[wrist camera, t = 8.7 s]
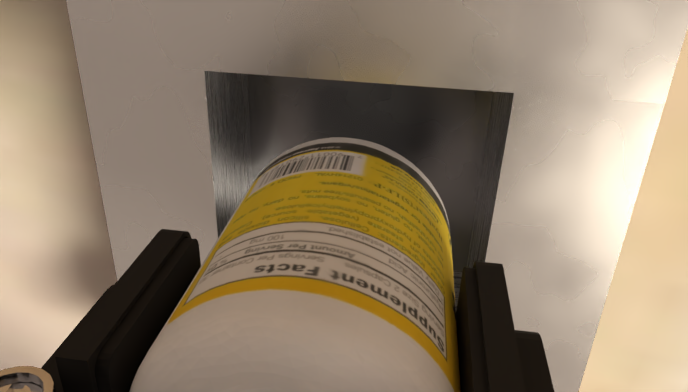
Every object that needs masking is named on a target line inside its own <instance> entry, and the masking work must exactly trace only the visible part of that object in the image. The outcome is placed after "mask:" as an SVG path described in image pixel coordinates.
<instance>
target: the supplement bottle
mask: <svg viewBox="0 0 688 392" xmlns="http://www.w3.org/2000/svg"><path fill="white" fill-rule="evenodd" d="M130 392H461V384H460V370H459V355H458V339H457V323H456V309H455V291H454V276H453V260H452V245H451V237H450V228H449V222H448V217H447V214H446V210H445V207H444V205H443V202H442V200H441V198H440V196H439V194H438V193H437V191H436V189H435V188H434V186H433V185H432V183H431V182H430V181H429V179H428V178H427V177H426V176H425V175H424V174H423V173H422V172H421V171H420V170H419V169H418V168H417V167H416V166H415V165H414V164H413V163H411V162H410V161H409V160H407V159H406V158H404V157H403V156H401V155H400V154H398V153H396V152H394V151H392V150H390V149H389V148H386V147H384V146H382V145H379V144H376V143H373V142H370V141H366V140H361V139H354V138H344V137H331V138H323V139H317V140H313V141H309V142H306V143H303V144H300V145H297V146H295V147H293V148H291V149H289V150H287V151H285V152H283V153H282V154H280V155H279V156H278V157H276V158H275V159H273V160H272V161H271V162H270V163H269V164H268V165H267V166H266V167H265V168H264V169H263V170H262V171H261V172H260V174H259V175H258V176H257V177H256V179H255V180H254V182H253V183H252V184H251V186H250V188H249V189H248V191H247V192H246V194H245V195H244V197H243V199H242V200H241V202H240V203H239V205H238V207H237V208H236V210H235V212H234V213H233V215H232V217H231V218H230V220H229V222H228V223H227V225H226V227H225V228H224V230H223V231H222V233H221V235H220V236H219V238H218V239H217V241H216V243H215V244H214V246H213V247H212V249H211V251H210V252H209V254H208V256H207V257H206V259H205V261H204V262H203V264H202V266H201V267H200V269H199V270H198V272H197V274H196V275H195V277H194V279H193V280H192V282H191V283H190V285H189V287H188V288H187V290H186V292H185V293H184V295H183V296H182V298H181V300H180V301H179V303H178V305H177V306H176V308H175V309H174V311H173V313H172V314H171V316H170V317H169V319H168V321H167V322H166V324H165V325H164V327H163V328H162V330H161V332H160V333H159V335H158V336H157V338H156V340H155V341H154V343H153V344H152V346H151V347H150V349H149V351H148V352H147V354H146V356H145V358H144V359H143V361H142V363H141V365H140V366H139V368H138V371H137V373H136V375H135V377H134V380H133V382H132V385H131V388H130Z"/></svg>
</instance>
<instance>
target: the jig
mask: <svg viewBox="0 0 688 392" xmlns="http://www.w3.org/2000/svg"><path fill="white" fill-rule="evenodd" d="M66 3H67V9H68V14H69V19H70V25H71V30H72V36H73V41H74V47H75V52H76V58H77V63H78V69H79V74H80V80H81V85H82V91H83V96H84V101H85V107H86V112H87V118H88V123H89V129H90V134H91V140H92V145H93V151H94V156H95V162H96V167H97V173H98V178H99V183H100V189H101V194H102V200H103V205H104V211H105V216H106V222H107V227H108V233H109V238H110V244H111V249H112V255H113V260H114V265H115V271H116V276H117V281H118V280H119V279H120V278H121V276H122V275H123V274H124V273H125V271H126V270H127V269H128V268H129V267H130V265H131V264H132V263H133V262H134V261H135V259H136V258H137V257H138V256H139V255H140V253H141V252H142V251H143V250H144V249H145V247H146V246H147V245H148V244H149V243H150V241H151V240H152V239H153V238H154V237H155V235H156V234H157V233H158V232H159V231H160V230H161V229H169V230H179V231H188V232H189V233H190V235H191V238H192V239H197V240H198V243H199V251H200V261H201V266H202V264H203V262H204V261H205V259H206V257H207V256H208V254H209V252H210V251H211V249H212V247H213V246H214V244H215V243H216V241H217V239H218V238H219V236H220V235H221V233H222V231H223V230H224V228H225V227H226V225H227V223H228V222H229V220H230V218H231V217H232V215H233V213H234V212H235V210H236V208H237V207H238V205H239V203H240V202H241V200H242V199H243V197H244V195H245V194H246V192H247V191H248V189H249V188H250V186H251V184H252V183H253V182H254V180H255V179H256V177H257V176H258V175H259V174H260V172H261V171H262V170H263V169H264V168H265V167H266V166H267V165H268V164H269V163H270V162H271V161H272V160H273V159H275V158H276V157H278V156H279V155H280V154H282V153H283V152H285V151H287V150H289V149H291V148H293V147H295V146H297V145H300V144H303V143H306V142H309V141H313V140H317V139H323V138H331V137H344V138H354V139H361V140H366V141H370V142H373V143H376V144H379V145H382V146H384V147H386V148H389V149H390V150H392V151H394V152H396V153H398V154H400V155H401V156H403V157H404V158H406V159H407V160H409V161H410V162H411V163H413V164H414V165H415V166H416V167H417V168H418V169H419V170H420V171H421V172H422V173H423V174H424V175H425V176H426V177H427V178H428V179H429V181H430V182H431V183H432V185H433V186H434V188H435V189H436V191H437V193H438V194H439V196H440V198H441V200H442V202H443V205H444V207H445V210H446V214H447V217H448V222H449V228H450V237H451V245H452V260H453V276H454V291H455V309H456V310H457V304H458V297H459V291H460V284H461V278H462V271H463V268H464V267H470V268H473V264H474V262H475V261H480V262H489V263H499V264H502V265H503V268H504V274H505V279H506V285H507V290H508V296H509V301H510V307H511V312H512V318H513V323H514V329H515V330H520V331H529V332H538V333H539V334H540V336H541V339H542V342H543V346H544V350H545V354H546V359H547V363H548V367H549V371H550V375H551V379H552V384H553V388H554V392H579V388H580V384H581V381H582V378H583V374H584V371H585V368H586V364H587V361H588V358H589V354H590V351H591V348H592V344H593V341H594V338H595V334H596V331H597V328H598V324H599V321H600V318H601V314H602V311H603V308H604V304H605V301H606V298H607V294H608V291H609V288H610V284H611V281H612V278H613V274H614V271H615V268H616V264H617V261H618V258H619V254H620V251H621V248H622V244H623V241H624V238H625V234H626V231H627V228H628V224H629V221H630V218H631V214H632V211H633V208H634V204H635V201H636V198H637V194H638V191H639V188H640V184H641V181H642V178H643V174H644V171H645V168H646V164H647V161H648V158H649V154H650V151H651V148H652V144H653V141H654V138H655V134H656V131H657V128H658V124H659V121H660V118H661V114H662V111H663V108H664V104H665V101H666V98H667V94H668V91H669V88H670V84H671V81H672V78H673V74H674V71H675V68H676V64H677V61H678V58H679V54H680V51H681V48H682V44H683V41H684V38H685V34H686V31H687V28H688V0H66Z"/></svg>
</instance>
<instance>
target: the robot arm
mask: <svg viewBox="0 0 688 392" xmlns="http://www.w3.org/2000/svg"><path fill="white" fill-rule="evenodd" d="M200 267H201V261H200V251H199V243H198V240H197V239H192V238H191V235H190V233H189V232H188V231H179V230H169V229H161V230H160V231H159V232H158V233H157V234H156V235H155V237H154V238H153V239H152V240H151V241H150V243H149V244H148V245H147V246H146V247H145V249H144V250H143V251H142V252H141V253H140V255H139V256H138V257H137V258H136V259H135V261H134V262H133V263H132V264H131V265H130V267H129V268H128V269H127V270H126V271H125V273H124V274H123V275H122V276H121V278H120V279H119V280H118V281H117V282H116V284H115V285H112V286H111V287H110V288H109V289H107V290H106V292H105V293H104V294H103V295H102V296H101V298H100V299H99V300H98V301H97V302H96V304H95V305H94V306H93V307H92V308H91V309H90V311H89V312H88V313H87V314H86V315H85V317H84V318H83V319H82V320H81V321H80V323H79V324H78V325H77V326H76V327H75V329H74V330H73V331H72V332H71V333H70V334H69V336H68V337H67V338H66V339H65V340H64V342H63V343H62V344H61V345H60V346H59V348H58V349H57V350H56V351H55V352H54V354H53V355H52V356H51V357H50V358H49V360H48V361H47V362H46V363H45V364H44V365H43V367H42V368H41V369H40V368H37V367H33V366H18V367H13V368H8V369H4V370H1V371H0V392H130V388H131V385H132V382H133V380H134V377H135V375H136V373H137V371H138V368H139V366H140V365H141V363H142V361H143V359H144V358H145V356H146V354H147V352H148V351H149V349H150V347H151V346H152V344H153V343H154V341H155V340H156V338H157V336H158V335H159V333H160V332H161V330H162V328H163V327H164V325H165V324H166V322H167V321H168V319H169V317H170V316H171V314H172V313H173V311H174V309H175V308H176V306H177V305H178V303H179V301H180V300H181V298H182V296H183V295H184V293H185V292H186V290H187V288H188V287H189V285H190V283H191V282H192V280H193V279H194V277H195V275H196V274H197V272H198V270H199V269H200ZM456 323H457V339H458V355H459V370H460V384H461V392H554V388H553V384H552V379H551V375H550V371H549V367H548V363H547V359H546V354H545V350H544V346H543V342H542V339H541V336H540V334H539V333H538V332H529V331H520V330H515V329H514V323H513V318H512V312H511V307H510V301H509V296H508V290H507V285H506V279H505V274H504V268H503V265H502V264H499V263H489V262H480V261H475V262H474V264H473V268H470V267H464V268H463V271H462V278H461V284H460V291H459V297H458V304H457V310H456Z"/></svg>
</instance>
